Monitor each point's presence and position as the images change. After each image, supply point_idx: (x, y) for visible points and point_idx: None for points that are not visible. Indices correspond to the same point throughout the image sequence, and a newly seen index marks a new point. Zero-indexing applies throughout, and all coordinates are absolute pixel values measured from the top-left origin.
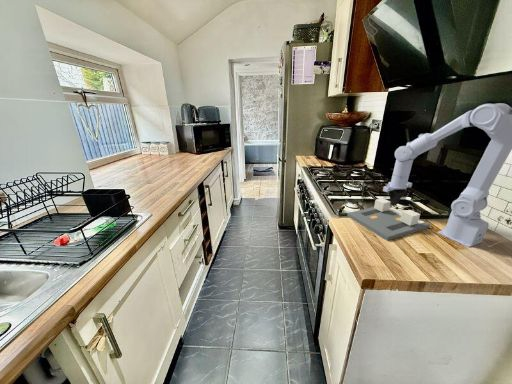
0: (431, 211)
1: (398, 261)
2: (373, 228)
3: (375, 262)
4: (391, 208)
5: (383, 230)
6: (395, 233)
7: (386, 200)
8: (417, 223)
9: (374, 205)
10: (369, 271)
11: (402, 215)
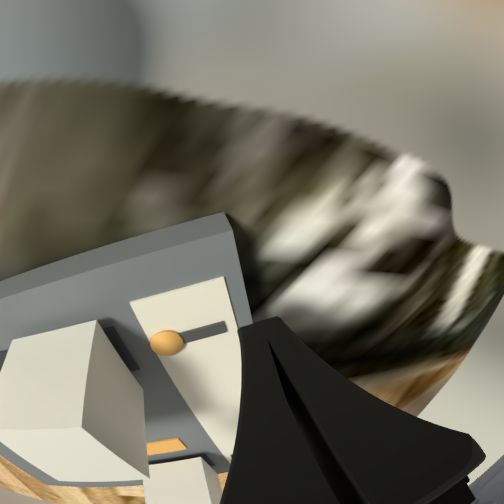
0: (457, 300)
1: (58, 494)
2: (3, 456)
3: (12, 483)
4: (211, 344)
5: (38, 471)
6: (78, 484)
7: (112, 464)
8: (228, 462)
9: (3, 366)
10: (2, 485)
11: (148, 501)
